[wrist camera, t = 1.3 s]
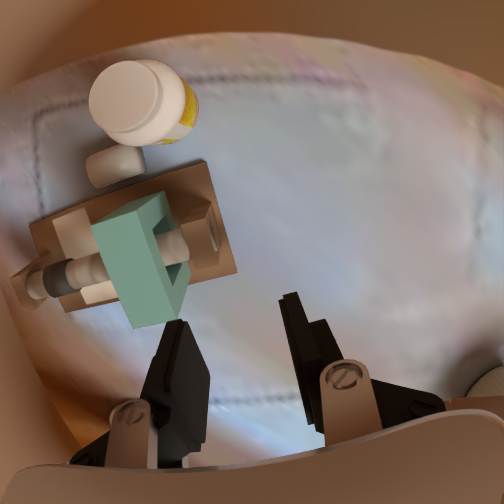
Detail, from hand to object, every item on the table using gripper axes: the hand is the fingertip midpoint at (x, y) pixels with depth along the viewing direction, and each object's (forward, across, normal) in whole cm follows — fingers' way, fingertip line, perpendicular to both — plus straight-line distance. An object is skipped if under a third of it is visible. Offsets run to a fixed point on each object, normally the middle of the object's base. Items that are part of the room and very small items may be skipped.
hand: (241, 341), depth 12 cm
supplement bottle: (+21, +4, -12) cm, 25 cm away
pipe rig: (+21, +13, 0) cm, 25 cm away
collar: (+20, +8, 0) cm, 21 cm away
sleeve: (+21, +10, -9) cm, 25 cm away
